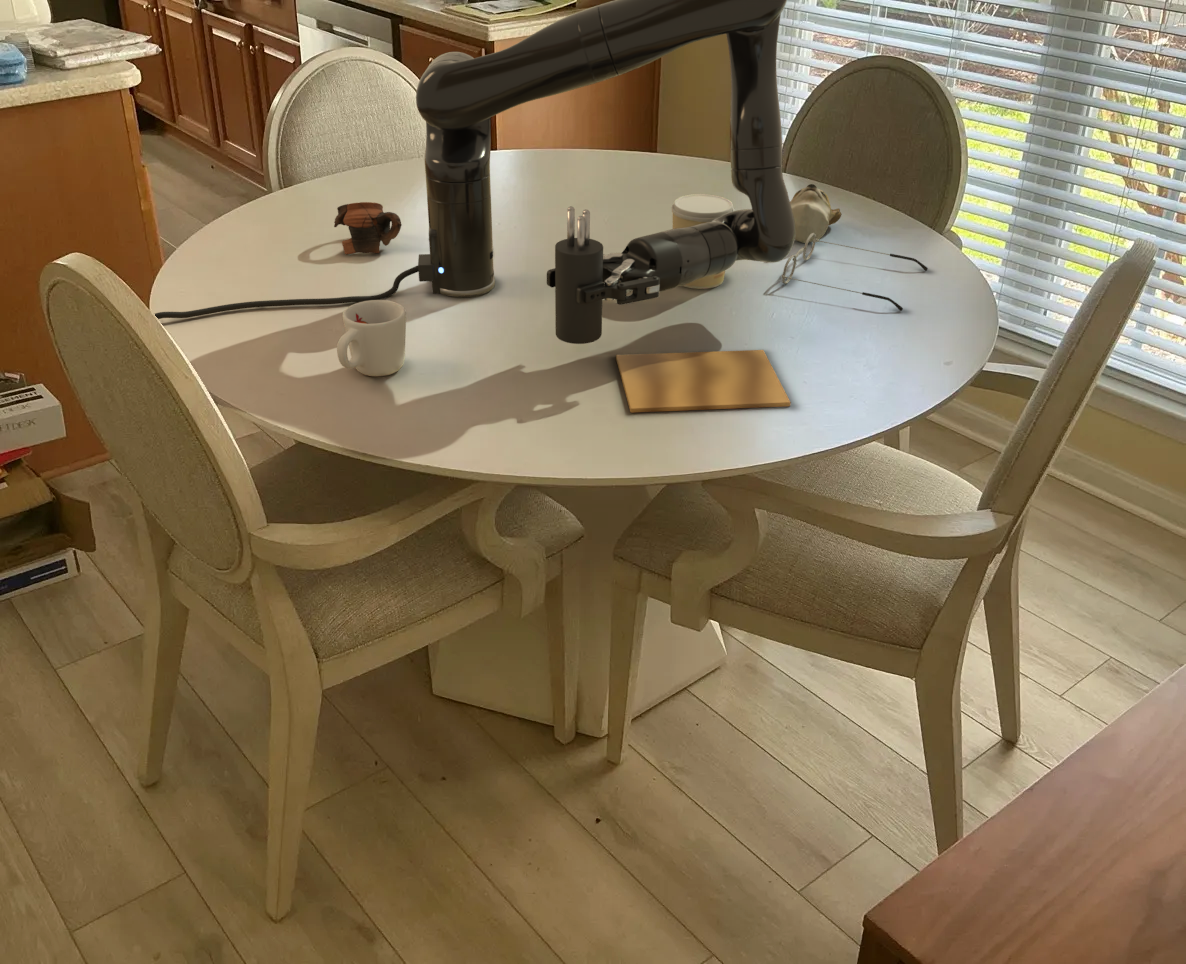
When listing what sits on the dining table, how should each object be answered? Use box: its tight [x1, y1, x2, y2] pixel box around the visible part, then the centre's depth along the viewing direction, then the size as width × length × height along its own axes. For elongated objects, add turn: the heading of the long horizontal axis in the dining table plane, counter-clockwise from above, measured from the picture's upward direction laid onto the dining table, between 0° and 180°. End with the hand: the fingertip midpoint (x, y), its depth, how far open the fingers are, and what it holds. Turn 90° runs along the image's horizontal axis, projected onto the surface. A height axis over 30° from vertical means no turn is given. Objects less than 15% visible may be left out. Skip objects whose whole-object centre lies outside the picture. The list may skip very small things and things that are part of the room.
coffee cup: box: [671, 193, 736, 290], centre depth 175 cm, size 9×9×12 cm
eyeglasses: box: [781, 233, 928, 312], centre depth 178 cm, size 18×19×4 cm
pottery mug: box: [333, 201, 403, 255], centre depth 187 cm, size 12×10×8 cm
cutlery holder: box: [554, 205, 604, 345], centre depth 146 cm, size 6×6×17 cm
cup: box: [336, 299, 407, 377], centre depth 148 cm, size 11×8×8 cm
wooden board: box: [615, 349, 792, 414], centre depth 149 cm, size 20×15×1 cm
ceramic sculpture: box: [789, 183, 843, 244], centre depth 194 cm, size 11×9×15 cm
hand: (563, 287), depth 145 cm, fingers closed on cutlery holder, 6 cm apart
